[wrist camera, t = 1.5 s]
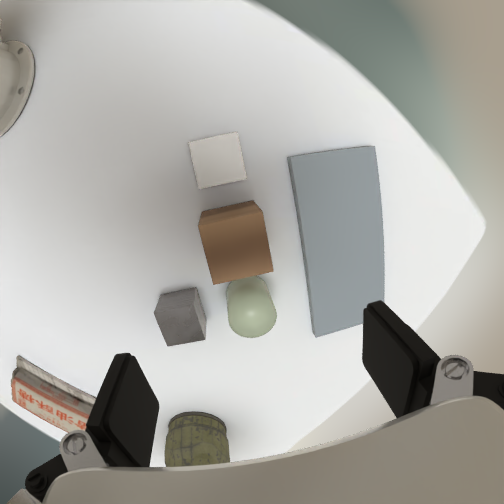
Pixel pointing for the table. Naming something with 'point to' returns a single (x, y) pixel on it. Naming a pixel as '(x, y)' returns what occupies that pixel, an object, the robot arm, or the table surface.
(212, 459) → the thermos
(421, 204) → the table surface
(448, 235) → the table surface
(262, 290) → the sage plastic cylinder
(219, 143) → the grey plastic cube
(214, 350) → the table surface
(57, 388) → the packaged product
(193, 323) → the dark metal block
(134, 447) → the robot arm
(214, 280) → the walnut block
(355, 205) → the slate board
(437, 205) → the table surface
